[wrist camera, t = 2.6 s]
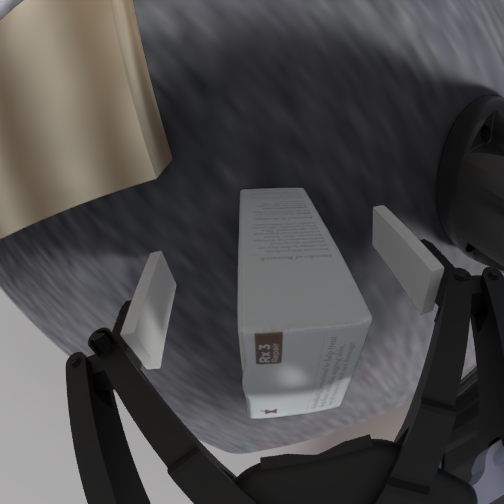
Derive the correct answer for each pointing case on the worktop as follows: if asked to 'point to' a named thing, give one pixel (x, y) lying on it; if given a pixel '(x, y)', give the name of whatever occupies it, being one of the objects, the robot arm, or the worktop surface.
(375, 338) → the worktop surface
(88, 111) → the base block
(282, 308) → the skincare box
